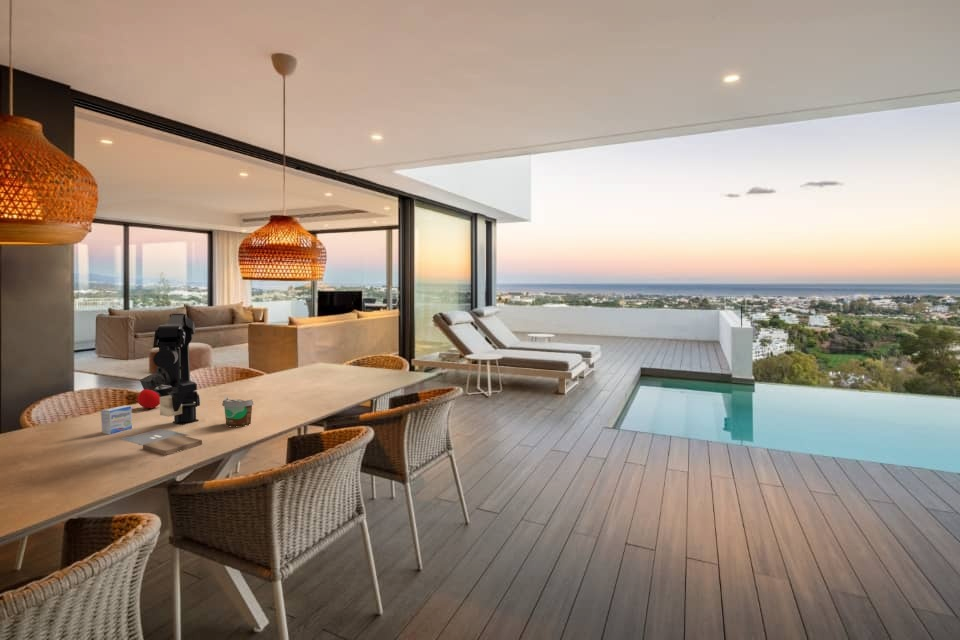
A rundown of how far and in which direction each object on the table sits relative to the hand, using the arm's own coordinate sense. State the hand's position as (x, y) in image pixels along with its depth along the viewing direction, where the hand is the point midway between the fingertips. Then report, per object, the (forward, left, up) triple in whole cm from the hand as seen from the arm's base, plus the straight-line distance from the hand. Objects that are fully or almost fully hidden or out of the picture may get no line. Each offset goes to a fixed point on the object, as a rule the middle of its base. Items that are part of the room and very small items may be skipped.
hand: (171, 410), depth 159 cm
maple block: (0, 0, -1) cm, 1 cm away
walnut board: (0, 0, -12) cm, 12 cm away
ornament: (-26, -57, -13) cm, 64 cm away
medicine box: (-1, -34, -13) cm, 36 cm away
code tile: (-3, -15, -12) cm, 19 cm away
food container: (-26, -4, -13) cm, 29 cm away
